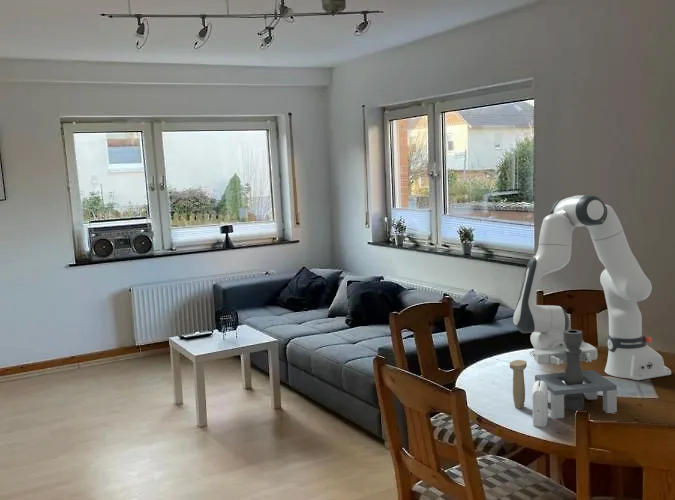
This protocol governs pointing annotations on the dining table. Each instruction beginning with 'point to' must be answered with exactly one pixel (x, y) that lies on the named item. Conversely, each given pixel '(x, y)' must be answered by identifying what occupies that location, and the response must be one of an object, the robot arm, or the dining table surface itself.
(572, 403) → the candle holder
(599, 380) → the hole stand
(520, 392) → the handle
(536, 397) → the photo printer
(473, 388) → the dining table surface
